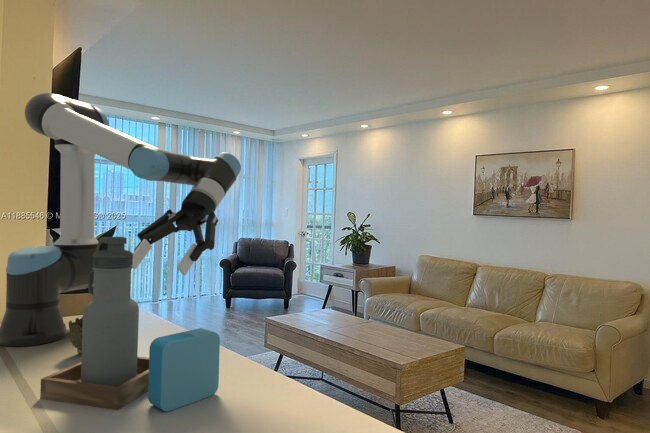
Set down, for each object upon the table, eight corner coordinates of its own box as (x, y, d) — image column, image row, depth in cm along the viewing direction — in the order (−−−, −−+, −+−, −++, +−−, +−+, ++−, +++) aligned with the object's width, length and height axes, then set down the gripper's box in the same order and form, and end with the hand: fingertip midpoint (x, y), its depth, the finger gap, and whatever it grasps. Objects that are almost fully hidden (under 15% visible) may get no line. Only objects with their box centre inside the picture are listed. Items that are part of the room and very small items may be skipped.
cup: (88, 360, 101) (89, 325, 101) (60, 357, 102) (61, 322, 102) (110, 350, 108) (111, 317, 108) (83, 347, 110) (84, 315, 109)
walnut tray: (103, 368, 96) (103, 352, 96) (169, 377, 92) (170, 360, 92) (40, 398, 80) (40, 378, 80) (117, 409, 77) (117, 389, 77)
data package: (204, 387, 88) (206, 326, 88) (218, 393, 85) (220, 331, 85) (147, 406, 78) (149, 338, 78) (161, 414, 76) (163, 344, 76)
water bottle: (74, 378, 87) (78, 235, 87) (126, 368, 94) (131, 235, 93) (88, 396, 80) (92, 239, 79) (144, 383, 86) (148, 238, 86)
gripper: (251, 214, 107) (210, 284, 94) (169, 209, 117) (121, 272, 103) (240, 190, 102) (195, 261, 89) (155, 187, 112) (103, 251, 98)
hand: (155, 267), depth 96 cm, fingers open, 13 cm apart
